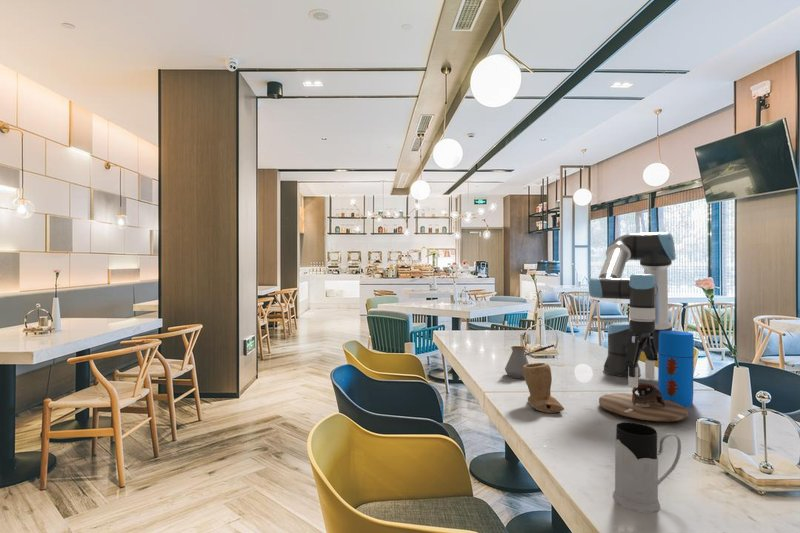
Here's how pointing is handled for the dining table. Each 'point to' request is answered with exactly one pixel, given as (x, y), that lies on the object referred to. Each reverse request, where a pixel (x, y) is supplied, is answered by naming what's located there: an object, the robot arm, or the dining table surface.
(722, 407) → the dining table surface
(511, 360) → the coffee pot
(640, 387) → the pottery mug
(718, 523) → the dining table surface
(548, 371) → the brown boot vase
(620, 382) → the dining table surface
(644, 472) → the glass holder
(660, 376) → the thermos
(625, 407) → the disc
